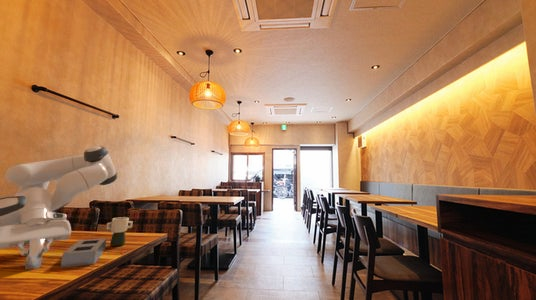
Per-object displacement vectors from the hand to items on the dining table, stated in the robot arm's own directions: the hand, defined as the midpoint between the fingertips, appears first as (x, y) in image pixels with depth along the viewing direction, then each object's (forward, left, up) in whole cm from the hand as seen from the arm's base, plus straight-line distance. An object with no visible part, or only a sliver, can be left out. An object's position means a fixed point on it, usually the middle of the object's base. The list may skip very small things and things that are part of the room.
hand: (35, 252), depth 82 cm
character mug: (-23, +23, -6) cm, 32 cm away
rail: (-7, +14, -5) cm, 16 cm away
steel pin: (-1, 0, -5) cm, 5 cm away
